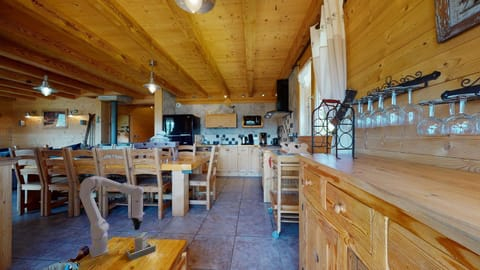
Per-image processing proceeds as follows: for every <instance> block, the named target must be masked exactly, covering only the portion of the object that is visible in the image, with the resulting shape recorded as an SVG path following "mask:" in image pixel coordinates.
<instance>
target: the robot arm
mask: <svg viewBox="0 0 480 270" xmlns="http://www.w3.org/2000/svg"><path fill="white" fill-rule="evenodd" d="M79 185H80V188H79V189H80V190H79V192H78V193H79V194H78V197H79V199H80V201H81V202H82V205H83V207H84V211H85V212H86V215H87V218H88V219H89V220H88V221H90V227H89V228H90V229H89V230H90V237H91V249H90V250H89V254H90V257H91V259H93V258H96V257H100V256H102V255H103V256H104V255H105V254H108V253H109V252H110V250H109V248H108V242H109V241H108V239H109V237H108V232H109V231H108V230H110V224H109V223H108V222H107V221H106V219H105V218H103V216H102V215H101V213H100V210H99V208H98V206H97V202H96V201H95V198H94V195H93V193H94V192H95V189H96V188H98V187H103V186H105V187H108V188H112V189H116V190H117V189H118V191H119V193H122V194H126V195H129V196H132V201H131V202H132V203H131V219H130V220H131V221H132V223H133V228H134V230H135V231H138V230H140V229H141V224H142V221H144V217H143V216H144V215H145V214H146V213H145V212H144V211H143V210H144V199H143V197H144V192H145V189H144V187H142V186H140V185H139V186H138V185H133V184H130V182H123V183H120V182H117V181H115V180H112V179H109V178H106V177H104V176H99V175H93V176H90V177H86V178H84V180H82V182H81V183H80V184H79Z"/></svg>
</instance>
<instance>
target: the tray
mask: <svg viewBox="0 0 480 270" xmlns="http://www.w3.org/2000/svg"><path fill="white" fill-rule="evenodd" d="M156 248H157V247H156V244H154V245H153V244H152V242H148V247H147V248H146V249H143V250H140V251H138V252H135V251H134V252H132V253H130V251H129V250H126V251H125V255H126V256H127V258H128V259H129V260H130V262H131V261H134V260H136V259H139V258H141V257H144V256H146V255H149V254H151V253H154V252H156Z"/></svg>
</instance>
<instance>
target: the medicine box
mask: <svg viewBox="0 0 480 270" xmlns="http://www.w3.org/2000/svg"><path fill="white" fill-rule="evenodd" d="M148 243H149V232H148V231H144V232H140V233H139V234H138V235H137V236H136V237H135V238H134V253H135V252H138V251H140V250H143V249H146V248H148V247H149V246H148Z"/></svg>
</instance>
